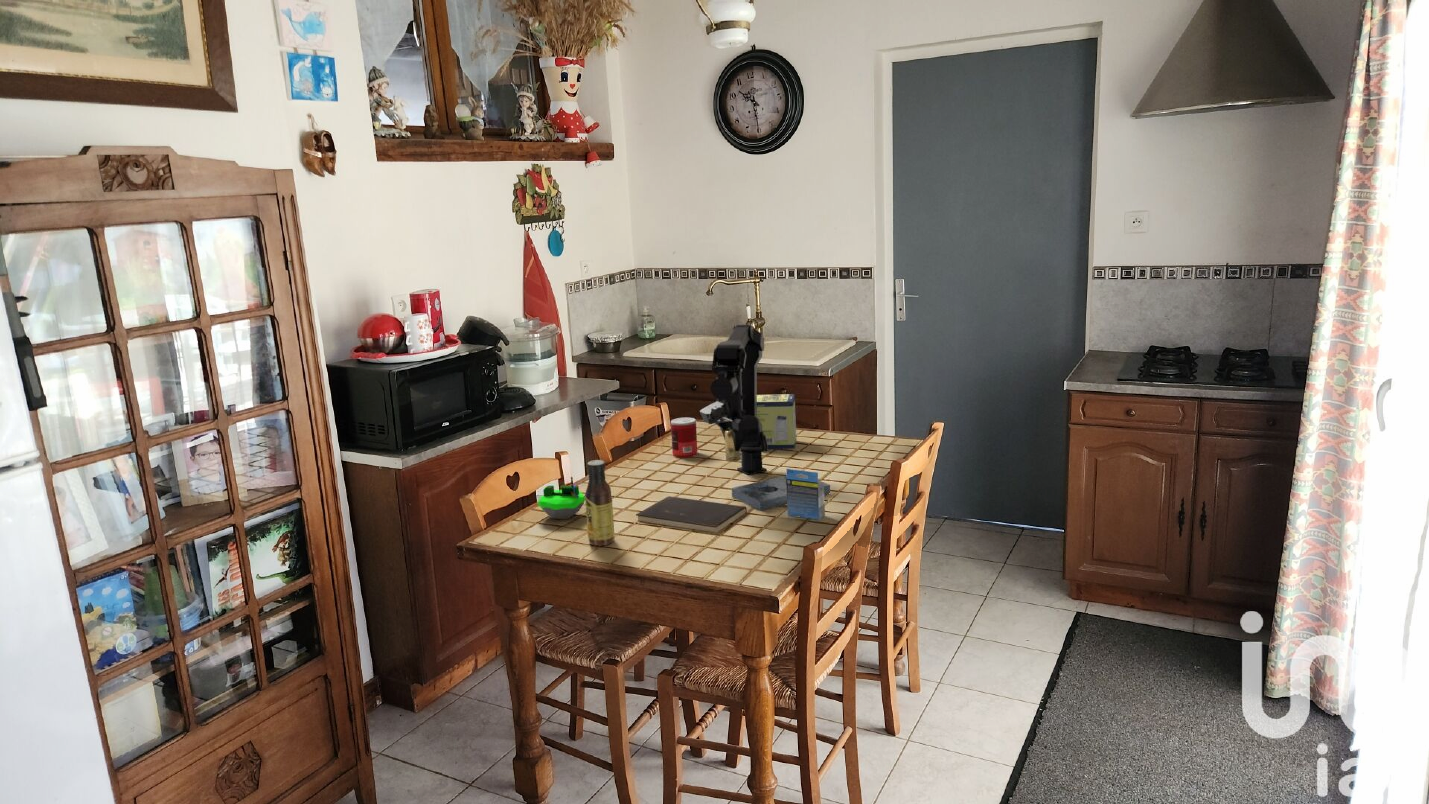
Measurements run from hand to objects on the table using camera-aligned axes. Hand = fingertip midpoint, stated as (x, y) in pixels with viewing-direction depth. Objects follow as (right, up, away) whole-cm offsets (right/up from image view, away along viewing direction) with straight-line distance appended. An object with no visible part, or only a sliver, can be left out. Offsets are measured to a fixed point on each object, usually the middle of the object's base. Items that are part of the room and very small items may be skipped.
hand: (733, 449), depth 250 cm
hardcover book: (-11, -17, -12) cm, 23 cm away
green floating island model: (-44, -17, -8) cm, 48 cm away
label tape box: (+18, -16, -15) cm, 28 cm away
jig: (+13, -12, +1) cm, 18 cm away
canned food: (-14, -4, +45) cm, 47 cm away
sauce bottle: (-32, -21, -27) cm, 46 cm away
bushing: (0, -3, +1) cm, 3 cm away
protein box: (+13, -1, +51) cm, 53 cm away
